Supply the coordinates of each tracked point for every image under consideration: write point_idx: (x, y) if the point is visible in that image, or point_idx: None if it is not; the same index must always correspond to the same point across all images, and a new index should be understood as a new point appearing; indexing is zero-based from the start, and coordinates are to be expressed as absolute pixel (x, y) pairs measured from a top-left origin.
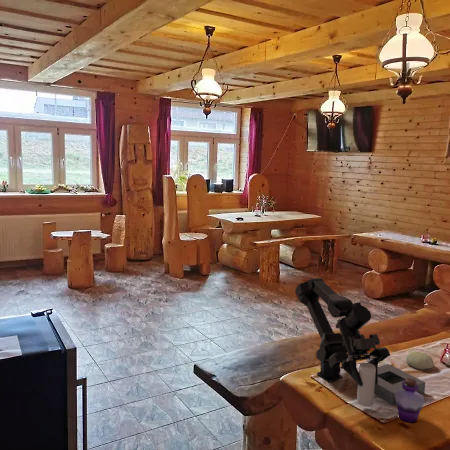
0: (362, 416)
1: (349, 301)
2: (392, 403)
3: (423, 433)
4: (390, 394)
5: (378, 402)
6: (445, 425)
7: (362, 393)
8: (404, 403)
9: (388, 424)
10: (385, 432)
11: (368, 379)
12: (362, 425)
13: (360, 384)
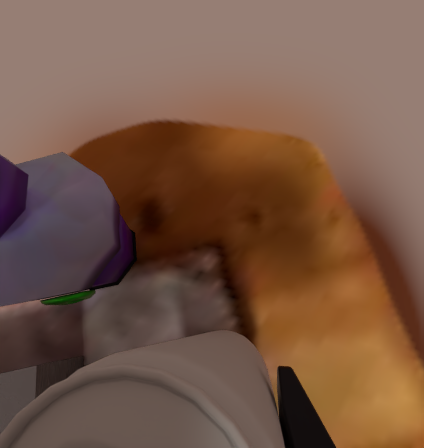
0: (274, 313)
1: None
2: (78, 360)
3: (125, 166)
4: (49, 386)
5: None
6: None
7: (262, 365)
8: (104, 182)
9: (201, 233)
10: (244, 193)
11: (220, 350)
12: (311, 251)
13: (296, 382)
